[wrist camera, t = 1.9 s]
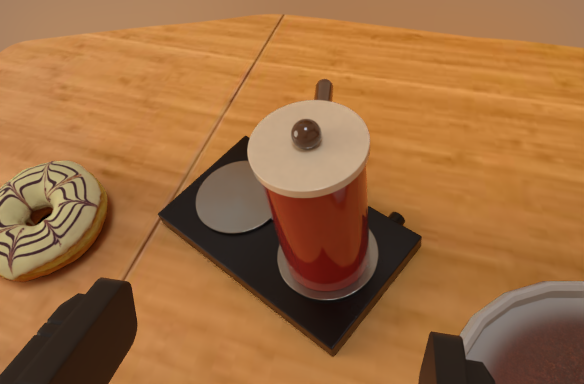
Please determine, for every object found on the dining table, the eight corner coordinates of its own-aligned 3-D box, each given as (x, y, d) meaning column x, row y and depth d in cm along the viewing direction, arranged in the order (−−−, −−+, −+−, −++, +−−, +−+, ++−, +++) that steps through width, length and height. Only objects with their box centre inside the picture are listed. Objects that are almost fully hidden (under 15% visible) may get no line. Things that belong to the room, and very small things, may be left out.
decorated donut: (-27, 238, 43) (-57, 213, 40) (78, 164, 47) (57, 136, 44) (22, 312, 38) (-9, 290, 35) (136, 222, 41) (117, 195, 38)
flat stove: (254, 140, 45) (250, 127, 44) (426, 238, 37) (428, 226, 35) (163, 223, 41) (155, 211, 40) (333, 357, 32) (331, 348, 31)
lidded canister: (372, 296, 33) (368, 172, 22) (276, 293, 34) (230, 174, 24) (374, 157, 40) (371, 15, 30) (294, 158, 41) (265, 22, 31)
